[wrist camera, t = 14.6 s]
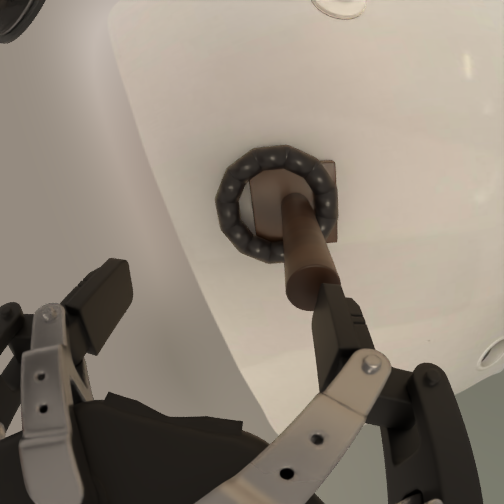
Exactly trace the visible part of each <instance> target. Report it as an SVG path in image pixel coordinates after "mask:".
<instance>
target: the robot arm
mask: <svg viewBox="0 0 504 504" xmlns="http://www.w3.org/2000/svg"><path fill="white" fill-rule="evenodd" d="M34 1H35V0H0V35H6V34H8V33H10V32H11V31H13V30H14V29H15V28H16V27H17V26H18V25H19V23H20V22H21V21H22V20H23V19H24V17H25V16H26V14H27V13H28V11H29V10H30V8H31V6H32V5H33V3H34ZM132 299H133V288H132V282H131V277H130V270H129V264H128V262H127V261H126V260H121V259H114V258H109V259H108V260H107V261H106V262H105V263H104V264H103V265H102V266H101V267H100V268H98V269H96V270H94V271H92V272H90V273H89V274H88V275H87V276H86V277H85V278H84V279H83V281H81V282H80V283H79V284H78V286H77V287H75V288H74V289H73V290H72V291H71V292H70V293H69V294H68V295H67V297H66V298H65V299H64V300H63V301H62V302H61V303H60V304H58V303H49V304H46V305H44V306H42V307H41V308H39V309H38V310H37V311H36V312H35V314H23V312H22V309H21V307H20V305H19V304H18V303H15V302H10V303H7V304H5V305H3V306H1V307H0V355H1V353H2V352H3V351H4V349H5V348H6V347H7V345H8V346H9V348H10V349H11V351H12V353H13V354H14V357H13V358H12V359H11V361H10V362H9V364H8V365H7V367H6V368H5V370H4V371H3V373H2V374H1V375H0V504H324V503H323V502H322V501H321V499H320V498H319V497H318V496H317V495H316V494H315V491H316V490H317V489H318V488H319V487H320V485H321V484H322V483H323V482H324V480H325V479H326V478H327V477H328V475H329V474H330V473H331V472H332V470H333V469H334V468H335V466H336V465H337V464H338V462H339V461H340V459H341V458H342V457H343V455H344V454H345V452H346V451H347V450H348V448H349V447H350V445H351V444H352V442H353V441H354V439H355V438H356V436H357V435H358V433H359V432H360V430H361V428H362V427H363V425H364V424H365V423H368V424H372V425H377V426H380V429H381V436H382V444H383V451H384V459H385V469H386V479H387V491H388V504H483V499H482V493H481V487H480V483H479V477H478V473H477V468H476V464H475V460H474V456H473V452H472V448H471V445H470V441H469V438H468V434H467V431H466V428H465V424H464V422H463V419H462V415H461V413H460V410H459V407H458V404H457V401H456V399H455V396H454V393H453V391H452V388H451V385H450V383H449V380H448V378H447V376H446V374H445V372H444V371H443V370H442V369H441V368H440V367H438V366H436V365H434V364H432V363H422V364H419V365H418V366H417V367H416V368H415V370H414V371H413V372H409V371H405V370H401V369H396V368H393V367H391V363H390V361H389V360H388V358H387V357H386V356H385V355H384V354H382V353H381V352H379V351H377V350H375V348H374V345H373V342H372V339H371V336H370V333H369V331H368V328H367V325H366V324H365V323H366V322H365V320H364V317H363V314H362V312H361V309H360V306H359V305H358V304H357V303H356V302H355V301H354V300H353V299H352V298H345V296H344V293H343V290H342V287H341V285H338V284H327V283H322V284H321V286H320V289H319V293H318V297H317V301H316V305H315V309H314V312H313V317H312V333H313V341H314V348H315V356H316V364H317V373H318V382H319V391H320V392H319V393H318V394H317V395H316V396H315V397H314V398H313V400H312V401H311V402H310V403H309V404H308V405H307V406H306V407H305V409H304V410H303V411H302V412H301V413H300V414H299V415H298V416H297V417H296V418H295V419H294V421H293V422H292V423H291V424H290V425H289V426H288V427H287V428H286V429H285V430H284V431H283V432H282V433H281V434H280V435H279V436H278V437H277V438H276V439H275V440H274V441H273V442H272V443H271V444H269V443H267V442H266V441H264V440H263V439H261V438H259V437H258V436H255V435H253V434H251V433H249V432H245V431H243V430H242V424H243V421H235V420H228V419H220V418H214V417H208V416H205V417H204V416H203V417H168V416H165V415H163V414H161V413H159V412H157V411H156V410H153V409H152V408H150V407H148V406H146V405H144V404H142V403H141V402H139V401H137V400H133V399H130V398H126V397H123V396H120V395H117V394H114V393H111V392H108V394H107V396H106V398H105V400H94V398H93V395H92V391H91V386H90V381H89V377H88V371H87V366H86V361H85V359H84V355H85V354H86V353H89V354H92V355H95V356H97V355H98V353H99V352H100V350H101V348H102V347H103V345H104V344H105V342H106V341H107V339H108V337H109V336H110V334H111V333H112V331H113V330H114V328H115V327H116V325H117V324H118V322H119V321H120V319H121V318H122V316H123V315H124V313H125V312H126V310H127V309H128V307H129V306H130V304H131V302H132ZM20 404H21V417H22V429H23V430H22V431H20V432H18V433H15V434H13V435H11V436H9V437H5V433H6V431H7V429H8V427H9V425H10V423H11V421H12V419H13V417H14V415H15V413H16V411H17V409H18V407H19V406H20Z"/></svg>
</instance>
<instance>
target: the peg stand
mask: <svg viewBox="0 0 504 504" xmlns="http://www.w3.org/2000/svg"><path fill="white" fill-rule="evenodd" d="M320 162H321V163H322V165H323V166H324V168H325V169H326V171H327V172H328V174H329V175H330V177H331V178H332V180H333V181H334V183H335V184H336V169H335V162H334V161H332V160H329V161H320ZM249 184H250V191H251V199H252V206H253V214H254V222H255V230H256V236H258V237H261V238H263V239H265V240H268V241H270V242H277V241H283V249H284V267H285V287H286V295H287V297H288V299H289V301H290V302H291V303H292V304H293V305H294V306H295V307H297V308H299V309H302V310H306V311H314V309H315V305H316V301H317V297H318V293H319V289H320V286H321V284H322V283H327V284H338V285H341V282H340V278H339V276H338V273H337V270H336V267H335V265H334V262H333V259H332V257H331V254H330V252H329V249H328V247H327V244H326V243H333V242H337V222H336V224H335V226H334V227H333V229H332V231H331V233H330V235H329V236H328V238H327V240H326V241H325V239H324V236H323V234H322V231H321V229H320V227H319V224H318V222H317V219H316V217H315V214H316V206H315V194H314V192H313V191H312V189H311V188H310V186H309V185H308V184H307V182H306V181H305V179H304V178H303V177H301V176H299V175H297V174H294V173H292V172H290V171H288V170H285V169H276V170H267V171H262V172H260V173H259V174H258V175H256V176H255V177H253V178H252V179H251V180H249Z"/></svg>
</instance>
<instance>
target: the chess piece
mask: <svg viewBox="0 0 504 504" xmlns="http://www.w3.org/2000/svg"><path fill="white" fill-rule="evenodd" d="M312 2H313V3H314V5H315V6H316V7H317V8H318V9H319V10H321V11H322V12H323V13H325V14H327V15H329V16H332V17H335V18H339V19H352V18H355V17H358V16H359V15H361V14H362V13H363V11H364V9H365V7H366V0H312Z"/></svg>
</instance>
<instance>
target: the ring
mask: <svg viewBox="0 0 504 504" xmlns="http://www.w3.org/2000/svg"><path fill="white" fill-rule="evenodd" d="M276 169H285V170H288V171H290V172H292V173H294V174H297V175H299V176H301V177H303V178H304V179H305V181H306V182H307V184H308V185H309V186H310V188H311V189H312V191H313V192H314V194H315V206H316V214H315V217H316V219H317V222H318V224H319V227H320V229H321V231H322V234H323V236H324V239H325V241H326V240H327V238H328V236H329V235H330V233H331V231H332V229H333V227H334V226H335V224H336V222H337V220H338V194H337V186H336V184H335V183H334V181H333V180H332V178H331V177H330V175H329V174H328V172H327V171H326V169H325V168H324V166H323V165H322V163H321V162H320V161H319V160H318V159H317V158H315V157H313V156H311V155H309V154H307V153H304V152H302V151H300V150H298V149H296V148H294V147H291V146H289V145H280V146H270V147H261V148H254V149H252V150H250V151H249V152H248V153H246V154H245V155H244V156H242V157H241V158H240V159H238V160H237V161H236V162H234V163H233V164H232V165H231V166H229V167H228V168H227V169H226V171H225V173H224V176H223V179H222V181H221V184H220V186H219V189H218V192H217V194H216V197H215V203H216V209H217V214H218V219H219V225H220V229H221V231H222V232H223V233H224V234H225V235H226V237H227V238H228V239H229V240H230V241H231V243H232V244H233V245H234V246H235V247H236V248H237V250H238V251H239V252H241V253H242V254H245V255H247V256H250V257H252V258H255V259H257V260H260V261H262V262H265V263H268V264H272V263H284V249H283V241H277V242H270V241H268V240H265V239H263V238H261V237H258V236H256V235H253V234H252V232H251V231H250V230H249V229H248V227H247V226H246V225H245V224H244V222H243V221H242V220H241V215H240V209H239V202H238V201H239V198H240V196H241V193H242V191H243V189H244V186H245V184H246V183H247V182H248V181H249V180H251V179H252V178H253V177H255V176H256V175H258V174H259V173H260V172H262V171H267V170H276Z"/></svg>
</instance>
